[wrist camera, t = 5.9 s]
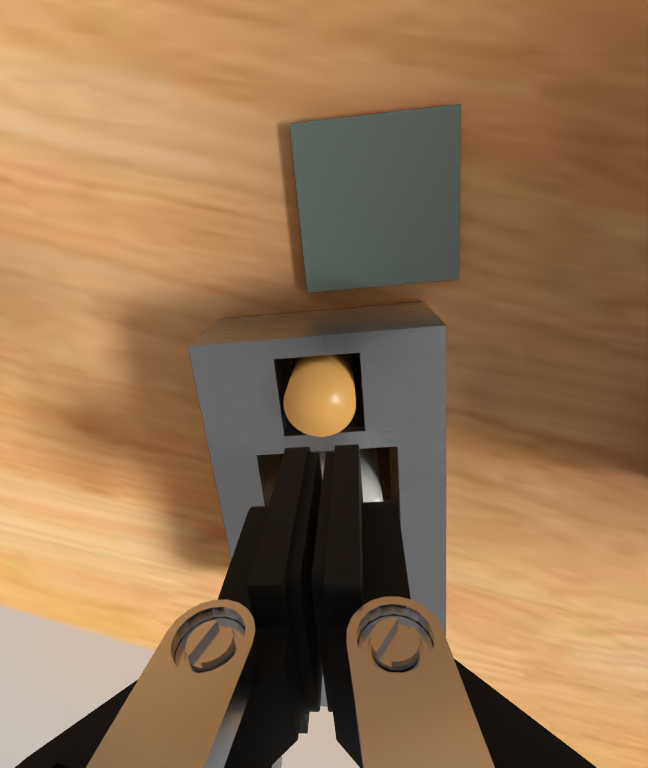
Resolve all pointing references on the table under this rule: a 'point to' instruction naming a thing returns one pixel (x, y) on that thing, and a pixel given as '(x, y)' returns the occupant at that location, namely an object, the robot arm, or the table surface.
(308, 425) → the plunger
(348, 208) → the mat
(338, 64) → the table surface
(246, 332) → the housing
